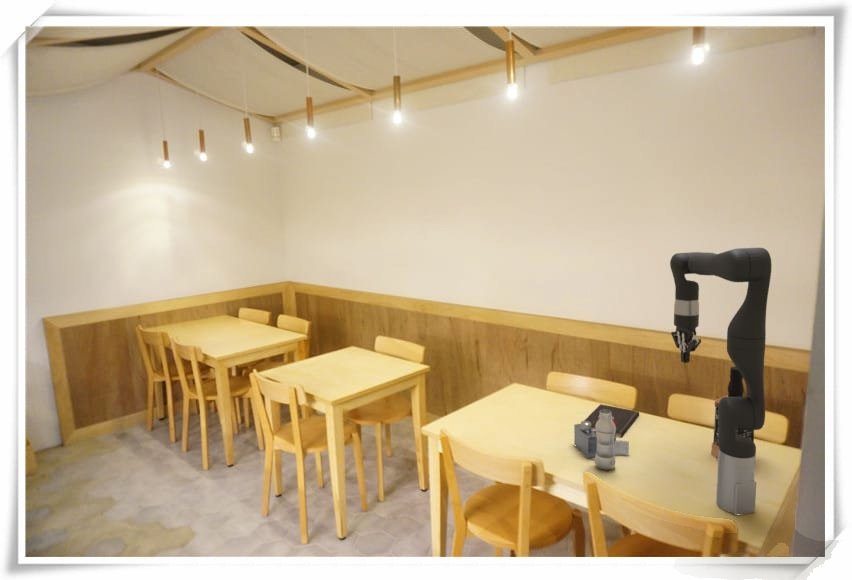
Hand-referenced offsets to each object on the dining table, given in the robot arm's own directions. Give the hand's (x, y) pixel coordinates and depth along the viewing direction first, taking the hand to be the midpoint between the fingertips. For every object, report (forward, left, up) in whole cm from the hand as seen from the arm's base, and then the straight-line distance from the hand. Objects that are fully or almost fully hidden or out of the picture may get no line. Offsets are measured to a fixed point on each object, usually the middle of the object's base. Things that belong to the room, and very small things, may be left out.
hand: (685, 362), depth 187 cm
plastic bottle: (-2, +30, -33) cm, 45 cm away
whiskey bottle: (-7, -14, -33) cm, 37 cm away
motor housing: (+10, +25, -33) cm, 43 cm away
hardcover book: (+30, +11, -34) cm, 47 cm away
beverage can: (+10, +23, -33) cm, 42 cm away
